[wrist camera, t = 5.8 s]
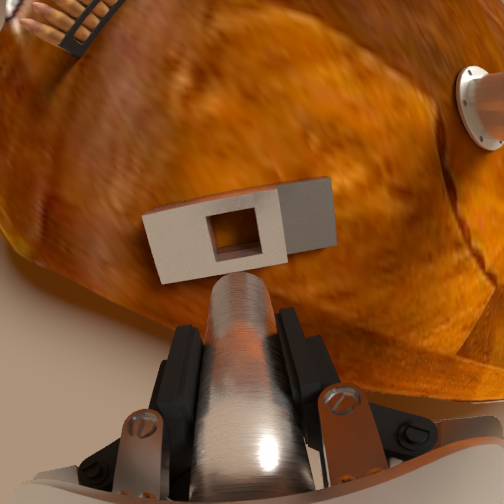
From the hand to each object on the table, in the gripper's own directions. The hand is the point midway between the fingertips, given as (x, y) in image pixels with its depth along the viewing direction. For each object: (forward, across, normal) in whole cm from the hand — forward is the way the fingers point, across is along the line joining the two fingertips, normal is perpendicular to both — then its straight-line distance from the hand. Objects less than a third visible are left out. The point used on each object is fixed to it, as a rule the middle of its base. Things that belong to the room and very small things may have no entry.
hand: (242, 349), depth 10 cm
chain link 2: (+20, -3, 0) cm, 20 cm away
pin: (+4, 0, 0) cm, 4 cm away
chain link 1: (+20, +2, 0) cm, 20 cm away
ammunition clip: (+20, +11, -28) cm, 36 cm away
